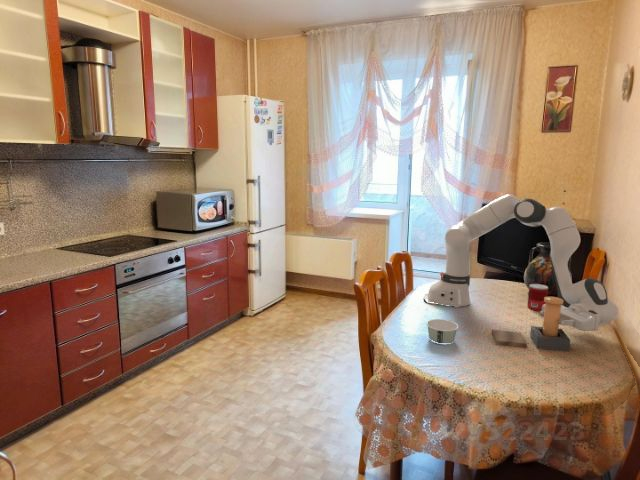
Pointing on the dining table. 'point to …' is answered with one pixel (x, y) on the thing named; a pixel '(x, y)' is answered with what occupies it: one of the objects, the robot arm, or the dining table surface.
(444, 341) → the food container
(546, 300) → the tan peg
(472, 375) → the dining table surface
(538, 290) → the canned food
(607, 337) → the dining table surface
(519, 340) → the walnut board
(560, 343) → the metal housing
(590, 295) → the robot arm
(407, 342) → the dining table surface
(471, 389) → the dining table surface
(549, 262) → the amphora vase
